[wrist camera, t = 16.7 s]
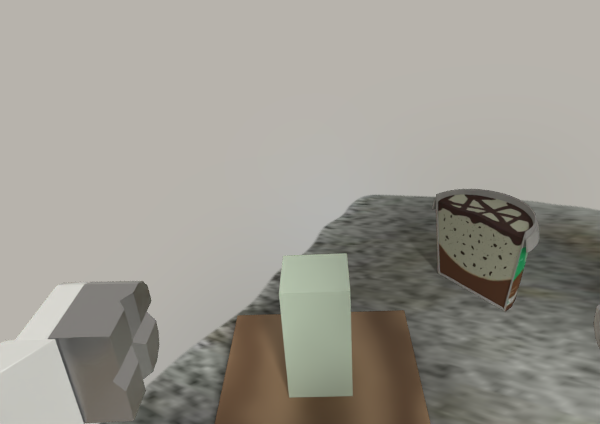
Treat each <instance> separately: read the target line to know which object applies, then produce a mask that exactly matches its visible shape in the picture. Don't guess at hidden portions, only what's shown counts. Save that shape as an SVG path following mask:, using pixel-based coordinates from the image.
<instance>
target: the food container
mask: <svg viewBox="0 0 600 424" xmlns="http://www.w3.org/2000/svg"><path fill="white" fill-rule="evenodd" d="M433 209H436V227H437V265H438V274H440V275H442V276H443V277H445V278H447V279H449V280H450V281H452V282H454V283H456V284H457V285H459V286H461V287H463V288H464V289H466V290H468V291H470V292H471V293H473V294H475V295H477V296H478V297H480V298H482V299H484V300H485V301H487V302H489V303H491V304H492V305H494V306H496V307H498V308H499V309H501V310H503V311H507V310H508V309H509V308H511V307H512V305H513V303H514V301H515V299H516V295H517V291H518V288H519V284H520V281H521V277H522V274H523V270H524V266H525V263H526V259H527V256H528V252H530V251H531V250H533V249H534V248H535V246H536V245H537V244H538V242H539V224H538V220H537V218H536V214H535V212H534V211H533V209H532V208H531V207H530V206H529V205H527V204H526V203H525V202H523V201H521V200H519V199H517V198H514V197H512V196H509V195H506V194H503V193H499V192H494V191H489V190H480V189H459V190H451V191H446V192H442V193H439V194H436V198H435V199H434V202H433V206H432V210H433Z"/></svg>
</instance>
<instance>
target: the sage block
mask: <svg viewBox="0 0 600 424" xmlns="http://www.w3.org/2000/svg"><path fill="white" fill-rule="evenodd" d="M279 300H280V310H281V320H282V330H283V340H284V351H285V361H286V371H287V381H288V391H289V398H291V397H334V396H353V384H352V341H351V298H350V282H349V272H348V261H347V253H345V254H318V255H294V256H283V261H282V270H281V279H280V288H279Z"/></svg>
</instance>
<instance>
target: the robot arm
mask: <svg viewBox="0 0 600 424" xmlns="http://www.w3.org/2000/svg"><path fill="white" fill-rule="evenodd" d="M150 303H151V297H150V294H149V290H148V286H147V285H146V284H145V283H144V282H143V281H119V282H70V283H62V284H59V285H57V286H56V287H55V288H54V290H53V291H52V292H51V293H50V295H49V296H48V297H47V299H46V300H45V301H44V303H43V304H42V305H41V307H40V308H39V309H38V310H37V312H36V313H35V314H34V316H33V317H32V318H31V320H30V321H29V322H28V324H27V325H26V326H25V328H24V329H23V330H22V331H21V333H20V334H19V335H18V337H17V338H16V339H15V340H6V341H4V342H2V343H1V344H0V424H84V423H99V422H120V421H134V420H135V417H136V414H137V412H138V409H139V407H140V404H141V402H142V399H143V396H144V394H145V391H146V390H145V386H144V382H143V379H144V378H146V377H147V376H148V375H149V374H150V373H152V372H153V370H154V367H155V364H156V362H157V357H158V350H159V334H158V328H157V323H156V320H155V319H154V318H153V317H152V316H150V314H148V313H147V309H148V307H149V305H150ZM594 331H595V338H596V341H597V344H598V346H599V349H600V304H599V305H598V306H597V307H596V312H595V318H594Z"/></svg>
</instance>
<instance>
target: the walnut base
mask: <svg viewBox="0 0 600 424" xmlns="http://www.w3.org/2000/svg"><path fill="white" fill-rule="evenodd" d="M351 341H352V384H353V396H334V397H291V398H289V391H288V381H287V371H286V361H285V351H284V340H283V330H282V320H281V314H272V315H240V316H238V317H237V321H236V326H235V331H234V335H233V340H232V345H231V350H230V354H229V359H228V364H227V368H226V373H225V378H224V382H223V387H222V392H221V396H220V401H219V406H218V410H217V415H216V420H215V424H430V419H429V415H428V411H427V406H426V402H425V398H424V394H423V389H422V385H421V381H420V376H419V372H418V368H417V364H416V359H415V355H414V351H413V346H412V342H411V338H410V333H409V329H408V325H407V321H406V316H405V312H404V310H400V311H368V312H351Z"/></svg>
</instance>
